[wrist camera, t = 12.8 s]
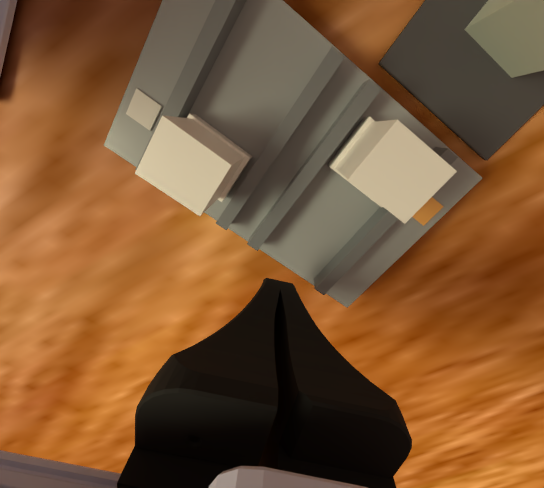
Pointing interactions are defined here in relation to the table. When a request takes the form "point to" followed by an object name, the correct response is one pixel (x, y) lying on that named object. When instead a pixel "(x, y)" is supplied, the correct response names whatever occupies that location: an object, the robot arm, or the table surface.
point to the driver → (511, 34)
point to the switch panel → (280, 135)
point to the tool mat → (461, 76)
